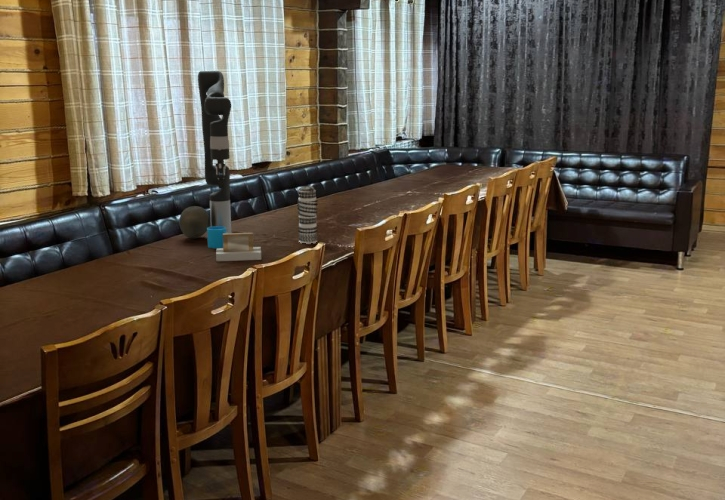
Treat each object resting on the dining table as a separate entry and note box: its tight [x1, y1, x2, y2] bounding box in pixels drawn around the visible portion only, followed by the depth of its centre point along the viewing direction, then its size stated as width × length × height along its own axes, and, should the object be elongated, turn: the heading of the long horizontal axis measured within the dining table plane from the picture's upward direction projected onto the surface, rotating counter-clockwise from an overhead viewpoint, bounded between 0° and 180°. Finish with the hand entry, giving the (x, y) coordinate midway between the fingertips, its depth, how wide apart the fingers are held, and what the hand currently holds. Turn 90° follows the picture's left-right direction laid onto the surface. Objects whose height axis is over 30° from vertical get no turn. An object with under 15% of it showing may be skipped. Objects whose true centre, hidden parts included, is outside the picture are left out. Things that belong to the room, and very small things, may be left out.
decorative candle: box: [296, 186, 319, 245], centre depth 302 cm, size 9×9×25 cm
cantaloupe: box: [178, 205, 211, 240], centre depth 309 cm, size 14×14×15 cm
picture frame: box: [223, 232, 254, 252], centre depth 276 cm, size 3×12×9 cm, turn 100°
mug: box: [206, 226, 227, 249], centre depth 295 cm, size 12×8×8 cm
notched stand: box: [215, 246, 262, 262], centre depth 277 cm, size 10×18×3 cm, turn 100°
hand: (221, 186), depth 278 cm, fingers open, 8 cm apart
